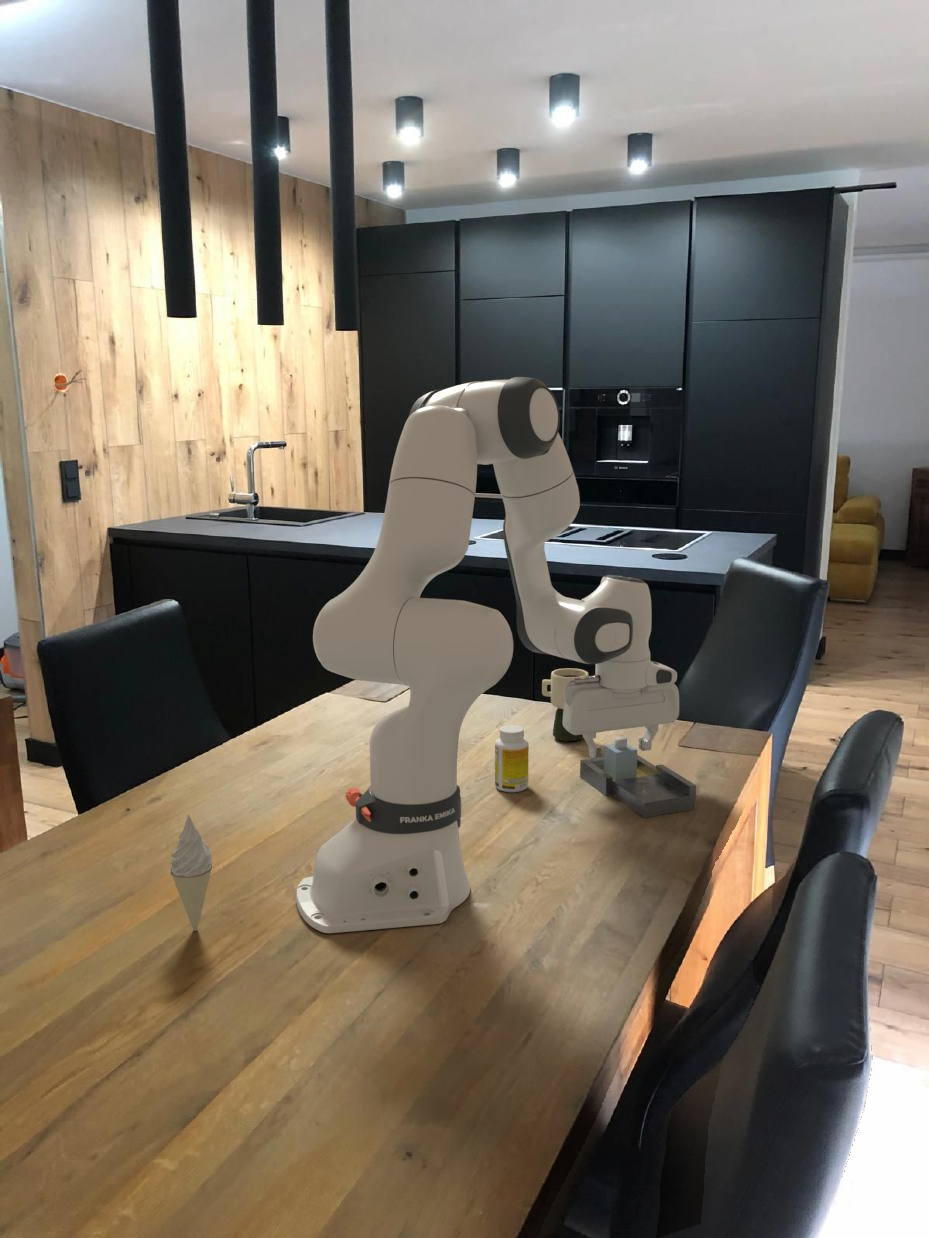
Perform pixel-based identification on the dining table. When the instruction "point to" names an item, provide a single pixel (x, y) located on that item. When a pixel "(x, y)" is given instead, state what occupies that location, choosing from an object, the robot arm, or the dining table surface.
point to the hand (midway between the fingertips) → (620, 752)
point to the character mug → (561, 698)
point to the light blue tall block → (620, 760)
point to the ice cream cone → (191, 871)
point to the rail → (643, 787)
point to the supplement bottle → (511, 759)
